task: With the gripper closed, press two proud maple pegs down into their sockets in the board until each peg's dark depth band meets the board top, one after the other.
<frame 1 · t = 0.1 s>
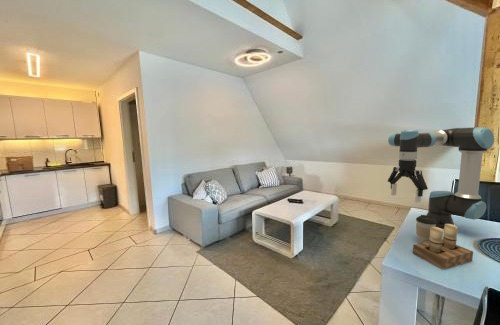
hand: (405, 198, 115), 28 cm above the table, fingers open, 13 cm apart
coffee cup: (424, 242, 123), on the table
peg 1: (435, 240, 105), point 10 cm above the table, slide at 0.0 cm
board: (441, 257, 108), on the table
peg 2: (450, 237, 108), point 10 cm above the table, slide at 0.0 cm
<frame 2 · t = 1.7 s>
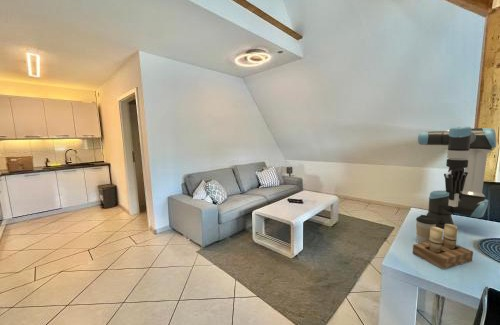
hand: (452, 205, 106), 26 cm above the table, fingers closed
nothing on the table moved.
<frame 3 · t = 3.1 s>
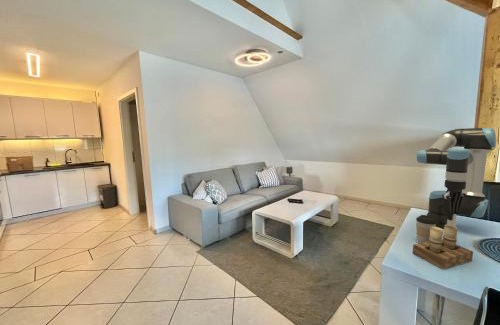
hand: (451, 225, 107), 16 cm above the table, fingers closed
peg 2: (449, 237, 108), point 10 cm above the table, slide at 0.3 cm, touching gripper
everything else where it was.
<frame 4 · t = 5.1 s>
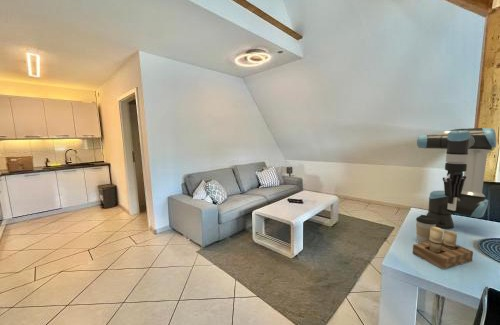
hand: (451, 209, 105), 25 cm above the table, fingers closed
peg 2: (449, 243, 108), point 7 cm above the table, slide at 3.5 cm
everything else where it was.
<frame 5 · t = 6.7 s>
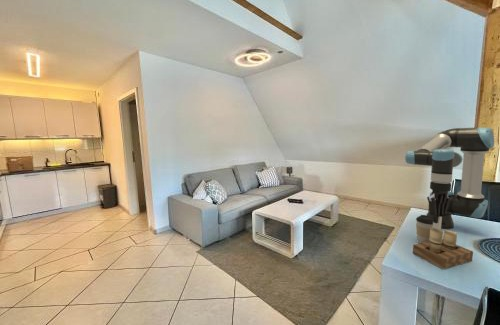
hand: (436, 228, 104), 16 cm above the table, fingers closed
peg 1: (435, 240, 105), point 10 cm above the table, slide at 0.2 cm, touching gripper
everything else where it was.
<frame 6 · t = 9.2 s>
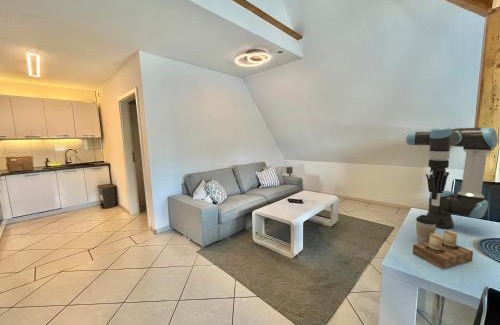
hand: (435, 205, 108), 26 cm above the table, fingers closed
peg 1: (435, 246, 105), point 7 cm above the table, slide at 3.5 cm
everything else where it was.
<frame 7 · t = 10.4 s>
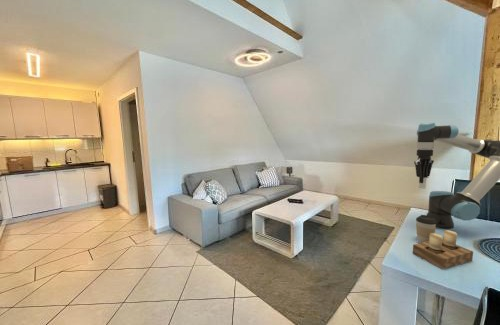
hand: (422, 187, 129), 29 cm above the table, fingers closed
nothing on the table moved.
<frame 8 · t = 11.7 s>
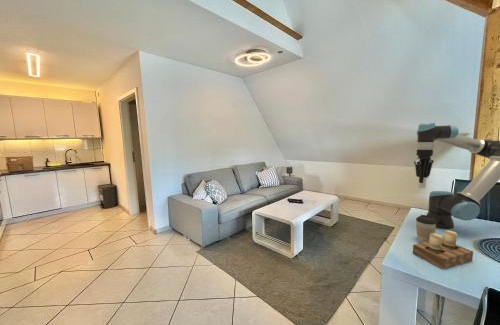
hand: (422, 187, 129), 29 cm above the table, fingers closed
nothing on the table moved.
at the end: peg 2 slide at 3.5 cm; peg 1 slide at 3.5 cm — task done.
